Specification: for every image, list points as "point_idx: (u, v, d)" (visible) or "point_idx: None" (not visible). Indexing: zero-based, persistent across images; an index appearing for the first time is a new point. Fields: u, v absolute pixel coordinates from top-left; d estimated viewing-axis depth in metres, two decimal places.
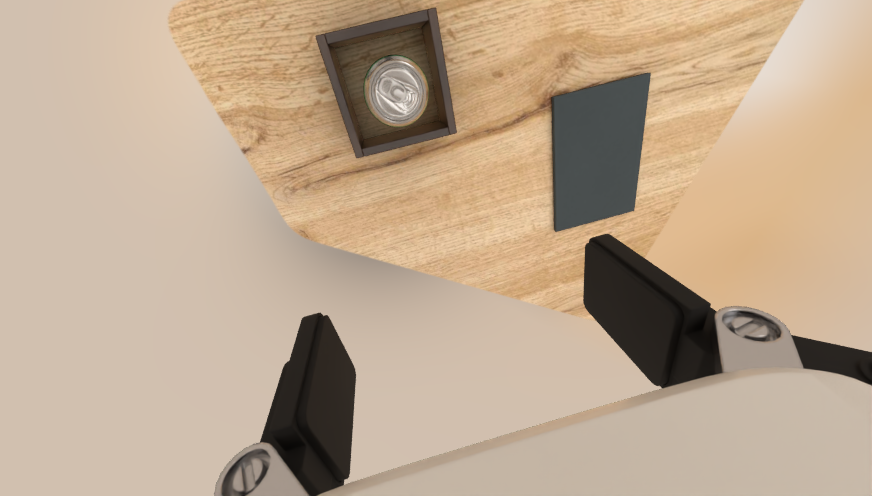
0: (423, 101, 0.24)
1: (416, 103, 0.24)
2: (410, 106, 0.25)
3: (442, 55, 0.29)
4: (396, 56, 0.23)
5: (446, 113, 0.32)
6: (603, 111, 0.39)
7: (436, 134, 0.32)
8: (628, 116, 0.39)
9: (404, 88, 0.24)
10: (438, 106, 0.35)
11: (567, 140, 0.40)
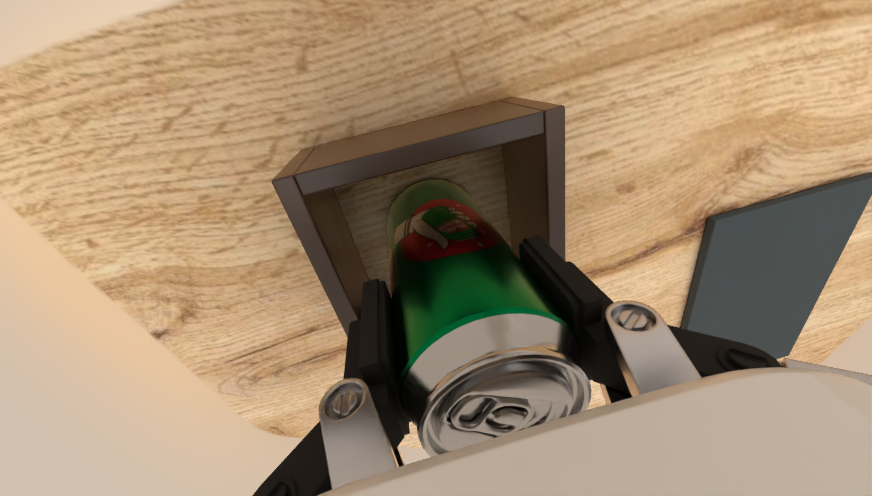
0: None
1: None
2: (533, 425, 0.08)
3: (562, 199, 0.13)
4: (508, 316, 0.07)
5: None
6: (788, 235, 0.23)
7: None
8: (823, 239, 0.23)
9: (529, 403, 0.08)
10: None
11: (720, 278, 0.23)
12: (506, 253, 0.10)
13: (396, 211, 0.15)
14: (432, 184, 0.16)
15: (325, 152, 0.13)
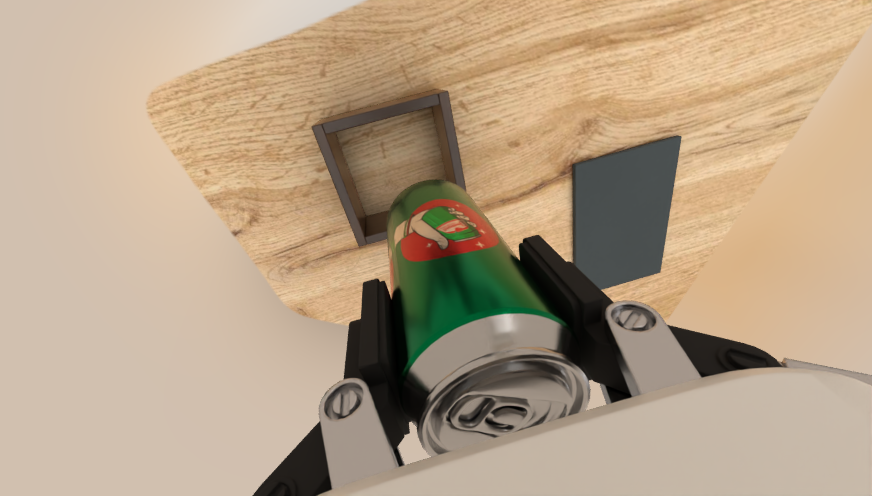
0: None
1: None
2: (532, 426, 0.08)
3: (455, 139, 0.26)
4: (508, 316, 0.07)
5: None
6: (629, 176, 0.35)
7: None
8: (655, 180, 0.36)
9: (528, 402, 0.08)
10: (449, 181, 0.31)
11: (589, 207, 0.36)
12: (506, 253, 0.10)
13: (396, 211, 0.15)
14: (432, 184, 0.16)
15: (335, 117, 0.26)
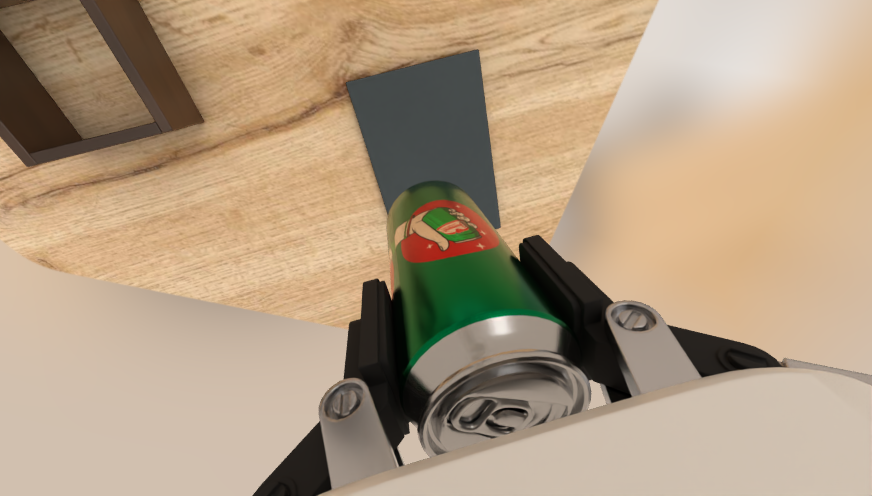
0: None
1: None
2: None
3: (100, 16, 0.20)
4: (508, 318, 0.07)
5: (145, 102, 0.22)
6: (423, 101, 0.29)
7: (140, 132, 0.23)
8: (461, 108, 0.30)
9: (529, 404, 0.08)
10: None
11: (382, 140, 0.30)
12: (506, 254, 0.10)
13: (396, 212, 0.15)
14: (432, 185, 0.16)
15: None
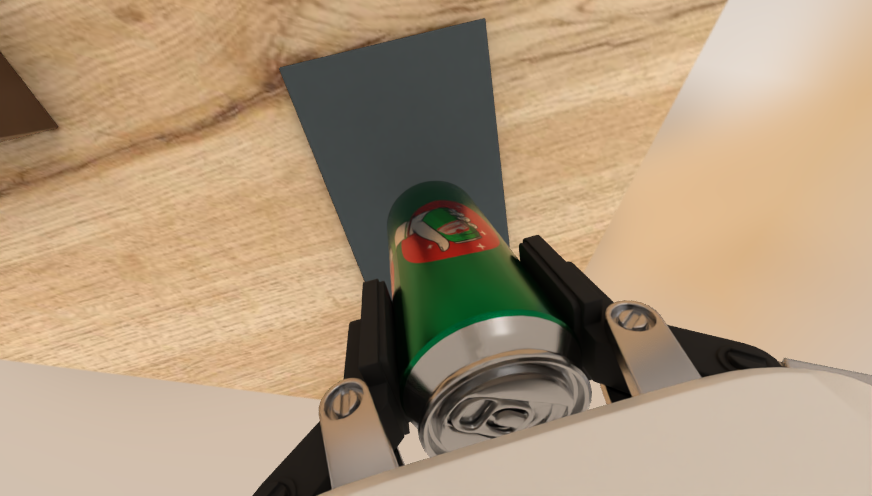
0: None
1: None
2: None
3: None
4: (509, 319, 0.07)
5: None
6: (401, 98, 0.19)
7: None
8: (458, 109, 0.20)
9: (529, 405, 0.08)
10: None
11: (341, 155, 0.20)
12: (507, 255, 0.10)
13: (396, 212, 0.15)
14: (433, 185, 0.16)
15: None
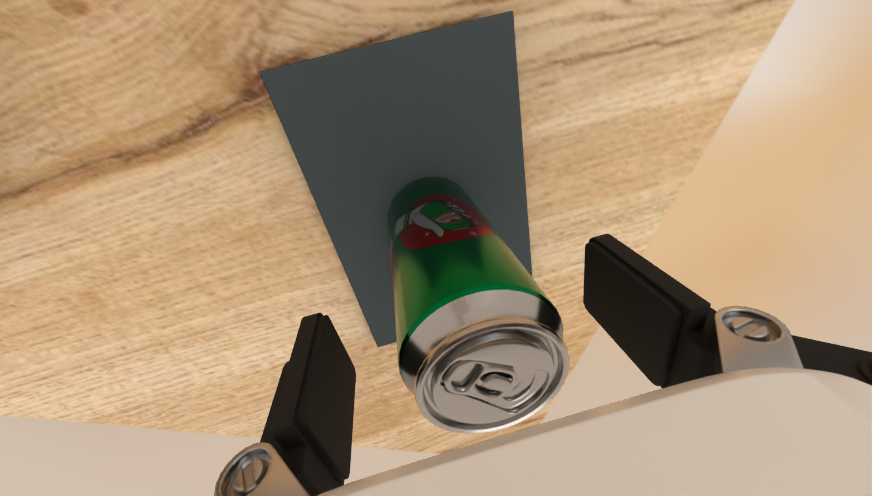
0: (557, 388, 0.09)
1: (537, 390, 0.09)
2: (519, 394, 0.09)
3: None
4: (495, 292, 0.08)
5: None
6: (410, 108, 0.16)
7: None
8: (477, 120, 0.17)
9: (514, 370, 0.09)
10: None
11: (337, 175, 0.17)
12: (496, 241, 0.11)
13: (396, 206, 0.16)
14: (430, 181, 0.17)
15: None
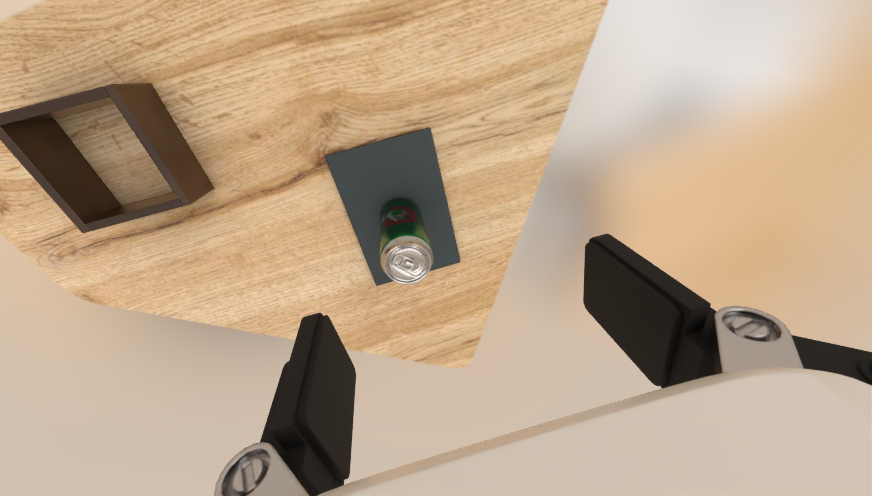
0: (429, 267, 0.29)
1: (423, 269, 0.30)
2: (418, 270, 0.30)
3: (140, 130, 0.27)
4: (406, 236, 0.29)
5: (170, 185, 0.30)
6: (388, 168, 0.36)
7: (167, 206, 0.31)
8: (419, 171, 0.37)
9: (413, 260, 0.29)
10: None
11: (356, 197, 0.38)
12: (415, 223, 0.32)
13: (382, 211, 0.36)
14: (398, 199, 0.37)
15: None
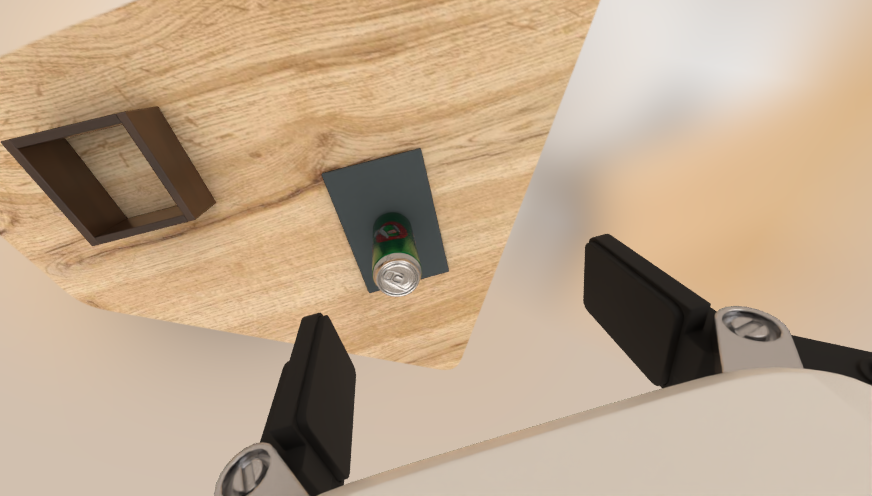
0: (417, 281, 0.32)
1: (412, 283, 0.32)
2: (407, 284, 0.32)
3: (149, 153, 0.29)
4: (397, 253, 0.31)
5: (176, 203, 0.32)
6: (381, 184, 0.39)
7: (172, 221, 0.33)
8: (410, 188, 0.40)
9: (403, 275, 0.31)
10: None
11: (350, 212, 0.40)
12: (406, 240, 0.34)
13: (375, 225, 0.39)
14: (390, 214, 0.39)
15: None
